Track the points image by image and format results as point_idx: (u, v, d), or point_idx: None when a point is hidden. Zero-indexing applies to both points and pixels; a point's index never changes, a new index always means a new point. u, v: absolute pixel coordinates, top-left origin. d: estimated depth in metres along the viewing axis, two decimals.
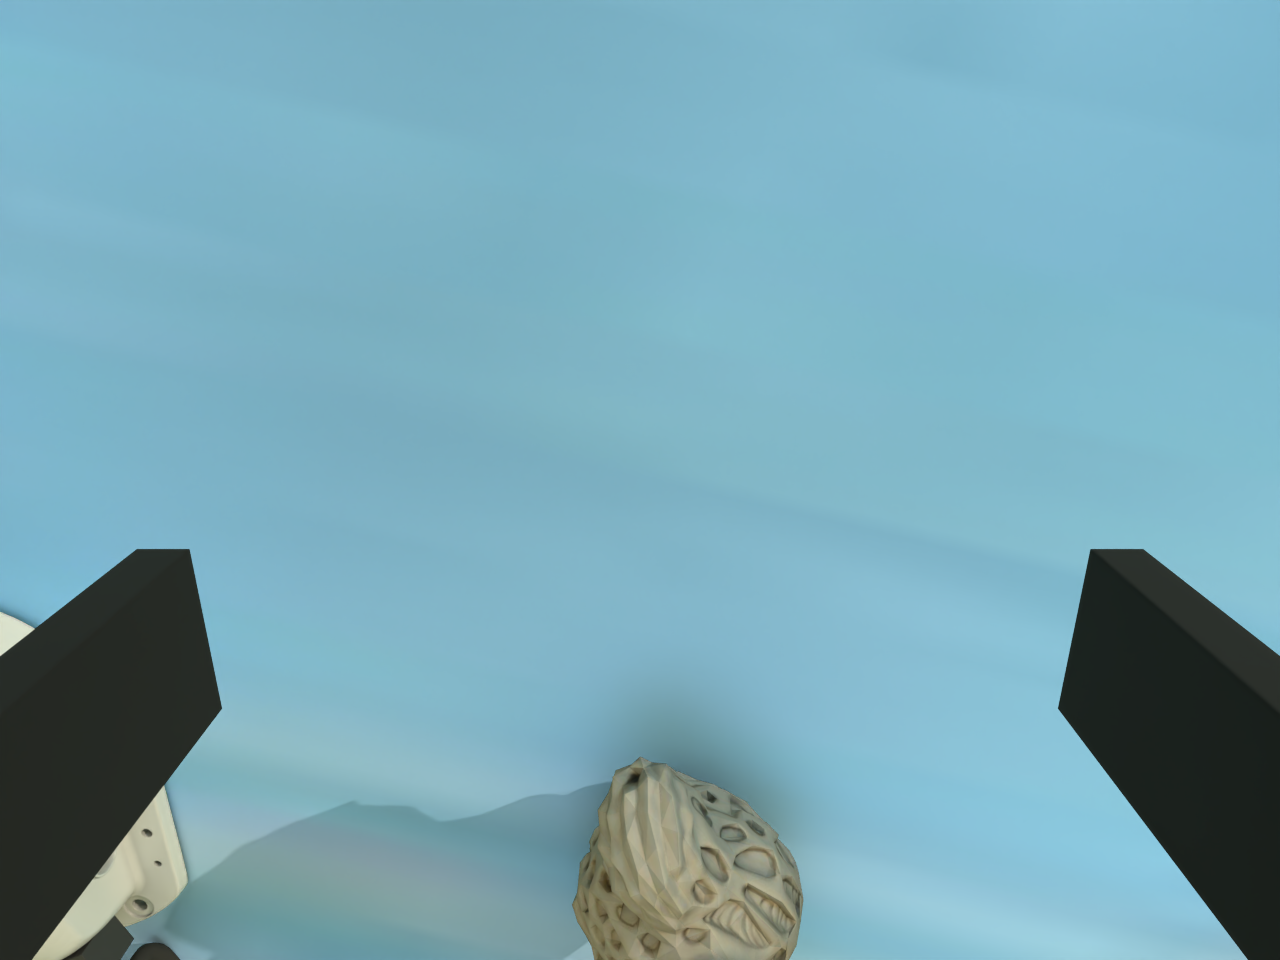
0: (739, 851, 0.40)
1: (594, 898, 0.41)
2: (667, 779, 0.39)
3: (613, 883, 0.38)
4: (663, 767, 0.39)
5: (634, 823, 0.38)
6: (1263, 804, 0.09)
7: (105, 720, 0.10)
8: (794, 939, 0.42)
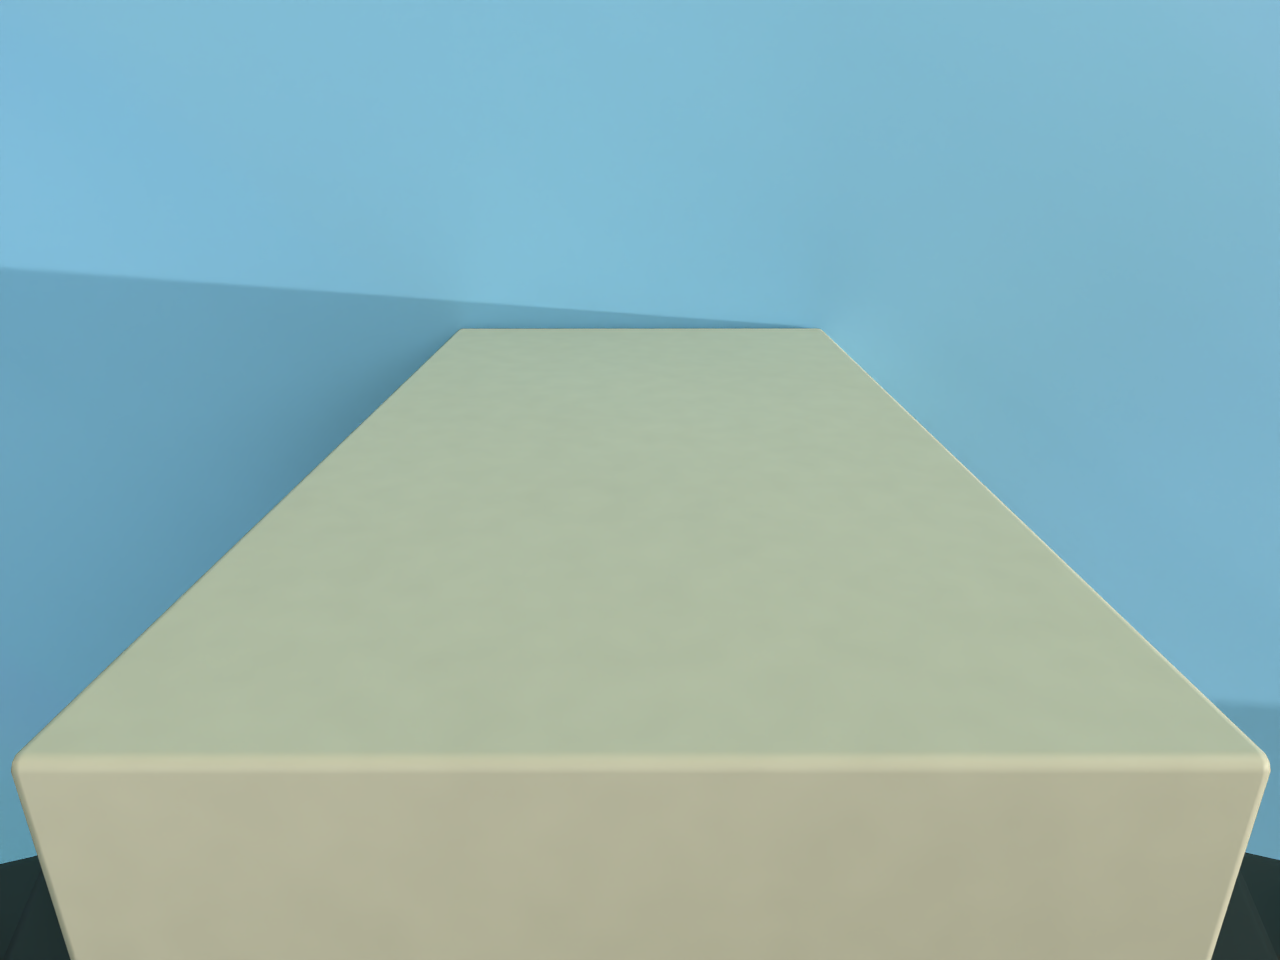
0: None
1: None
2: None
3: None
4: None
5: None
6: None
7: None
8: None
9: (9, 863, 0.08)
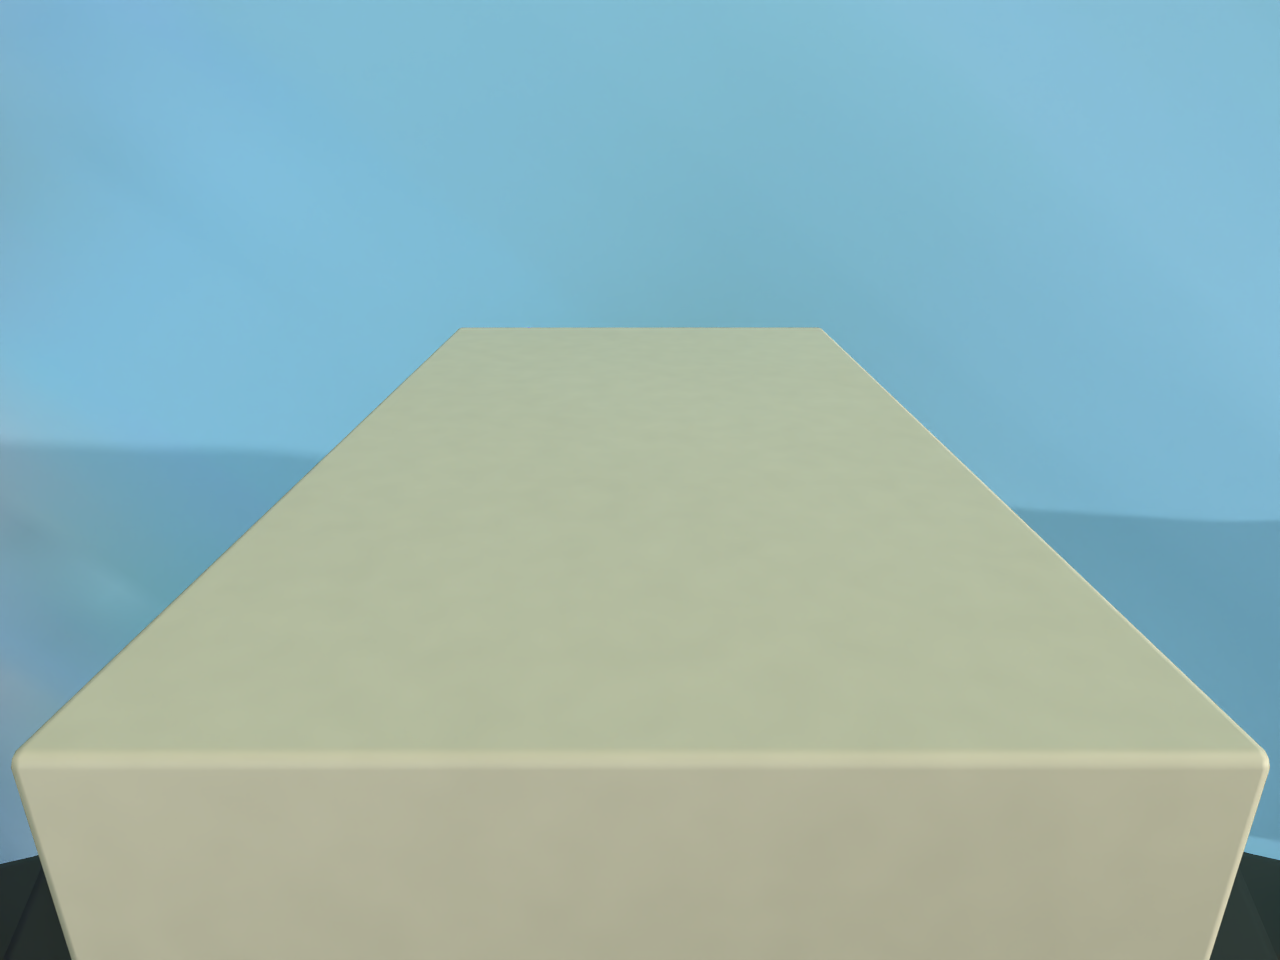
0: None
1: None
2: None
3: None
4: None
5: None
6: None
7: None
8: None
9: (10, 863, 0.08)
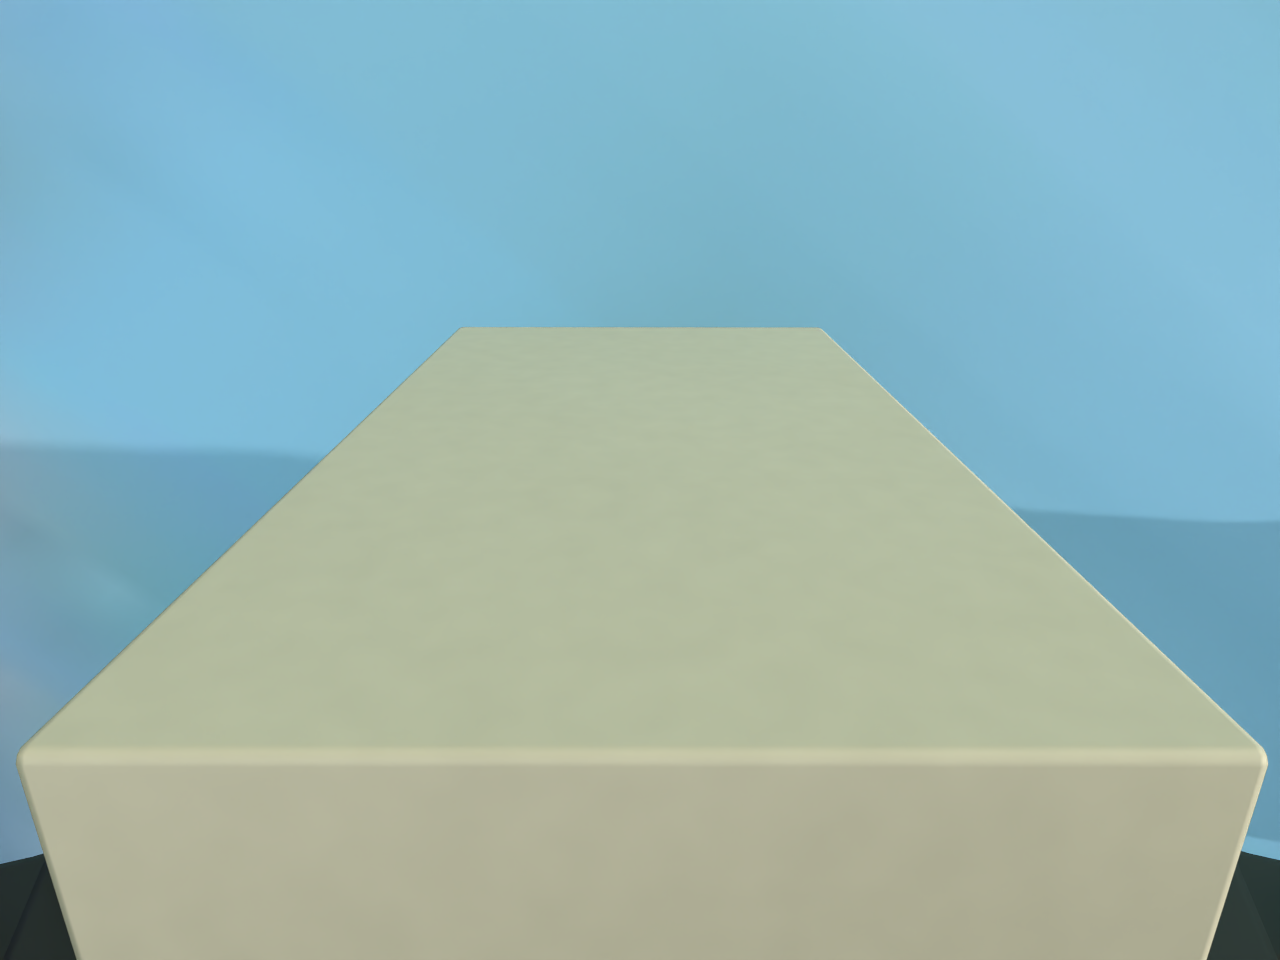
0: None
1: None
2: None
3: None
4: None
5: None
6: None
7: None
8: None
9: (9, 863, 0.08)
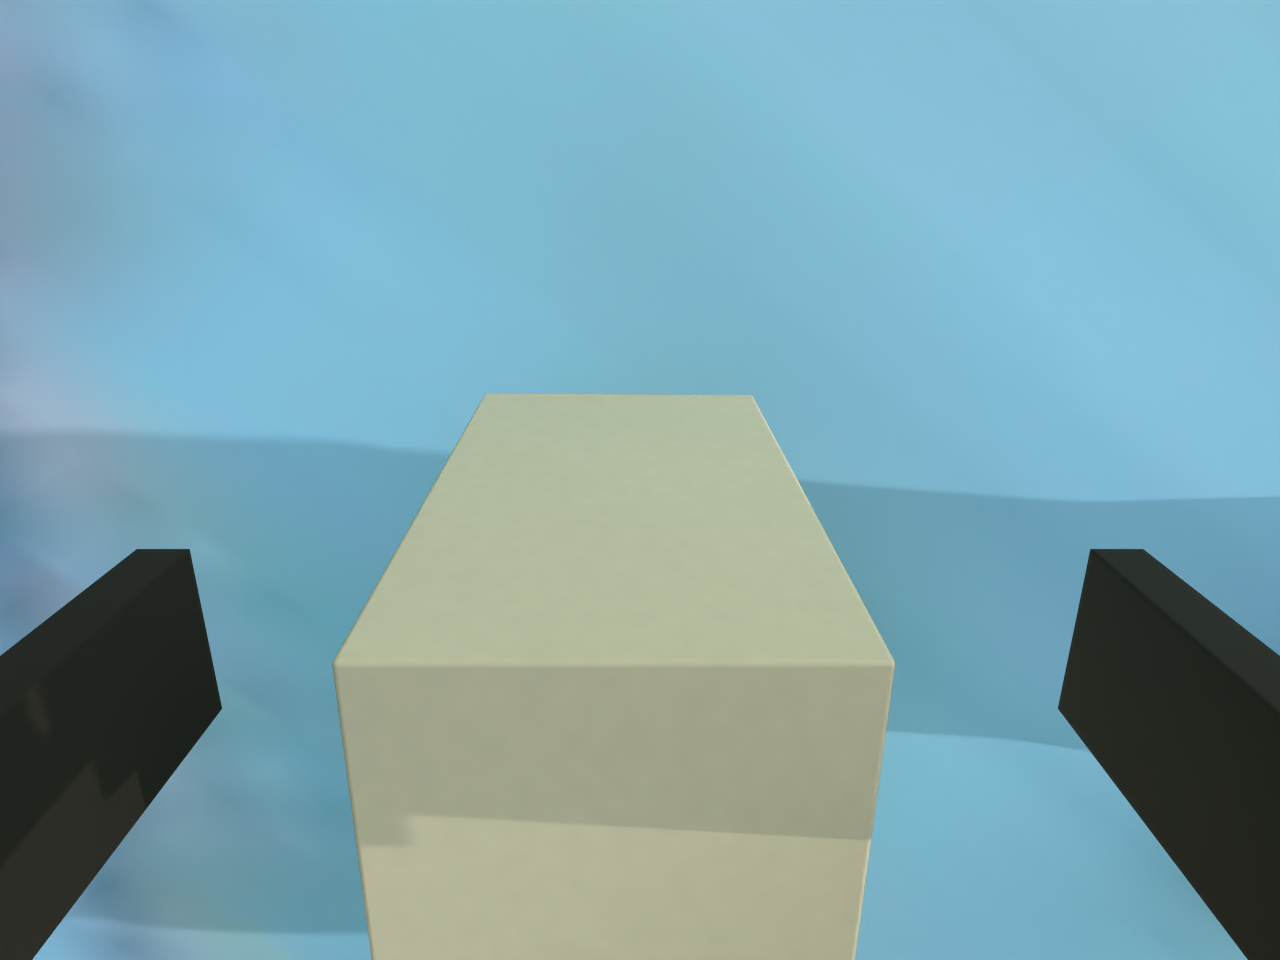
0: None
1: None
2: None
3: None
4: None
5: None
6: (1263, 804, 0.09)
7: (105, 720, 0.10)
8: None
9: None
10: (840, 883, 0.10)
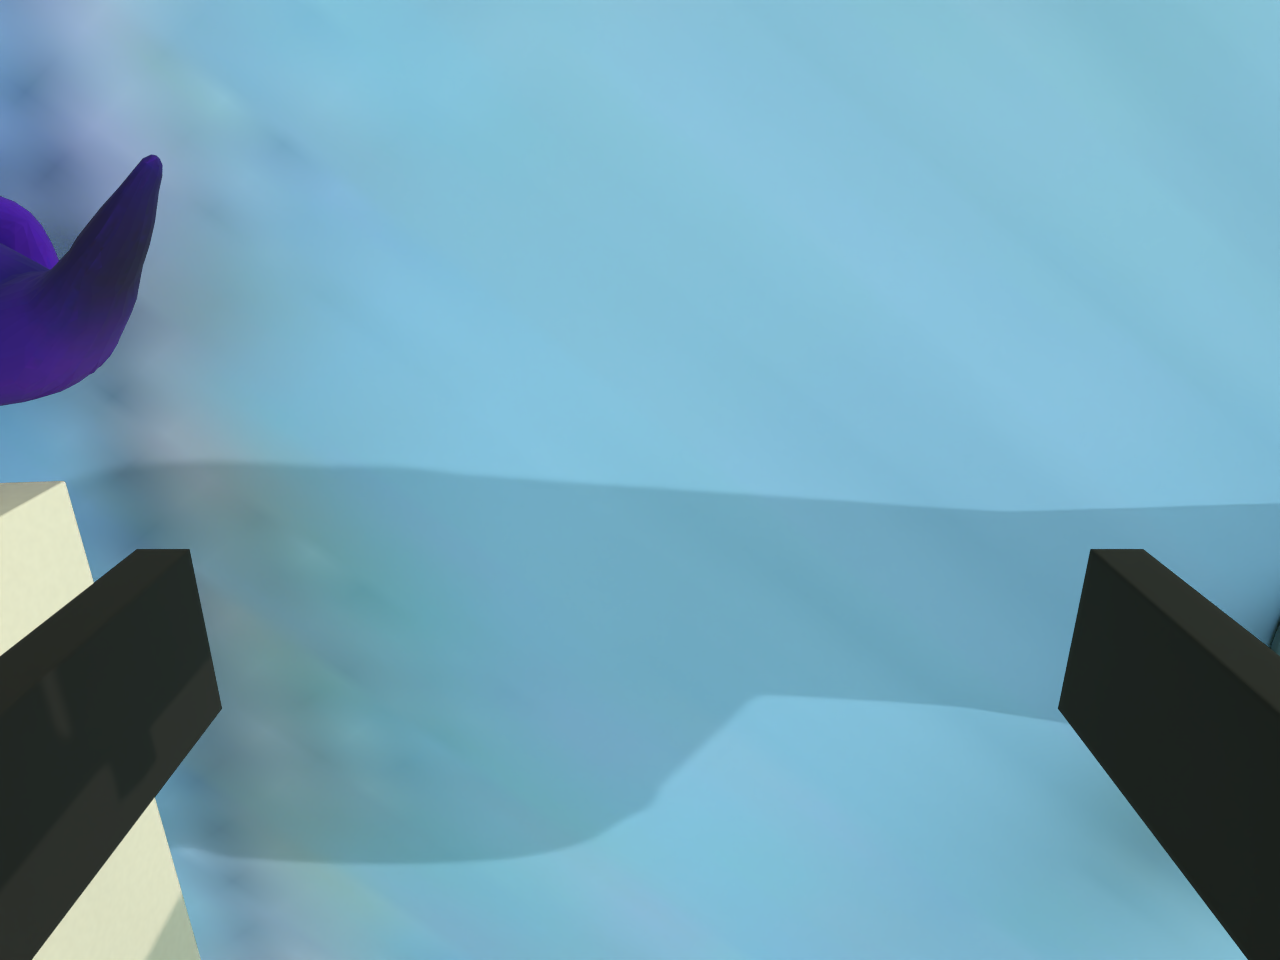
0: None
1: None
2: None
3: None
4: None
5: None
6: (1263, 804, 0.09)
7: (105, 720, 0.10)
8: None
9: None
10: None
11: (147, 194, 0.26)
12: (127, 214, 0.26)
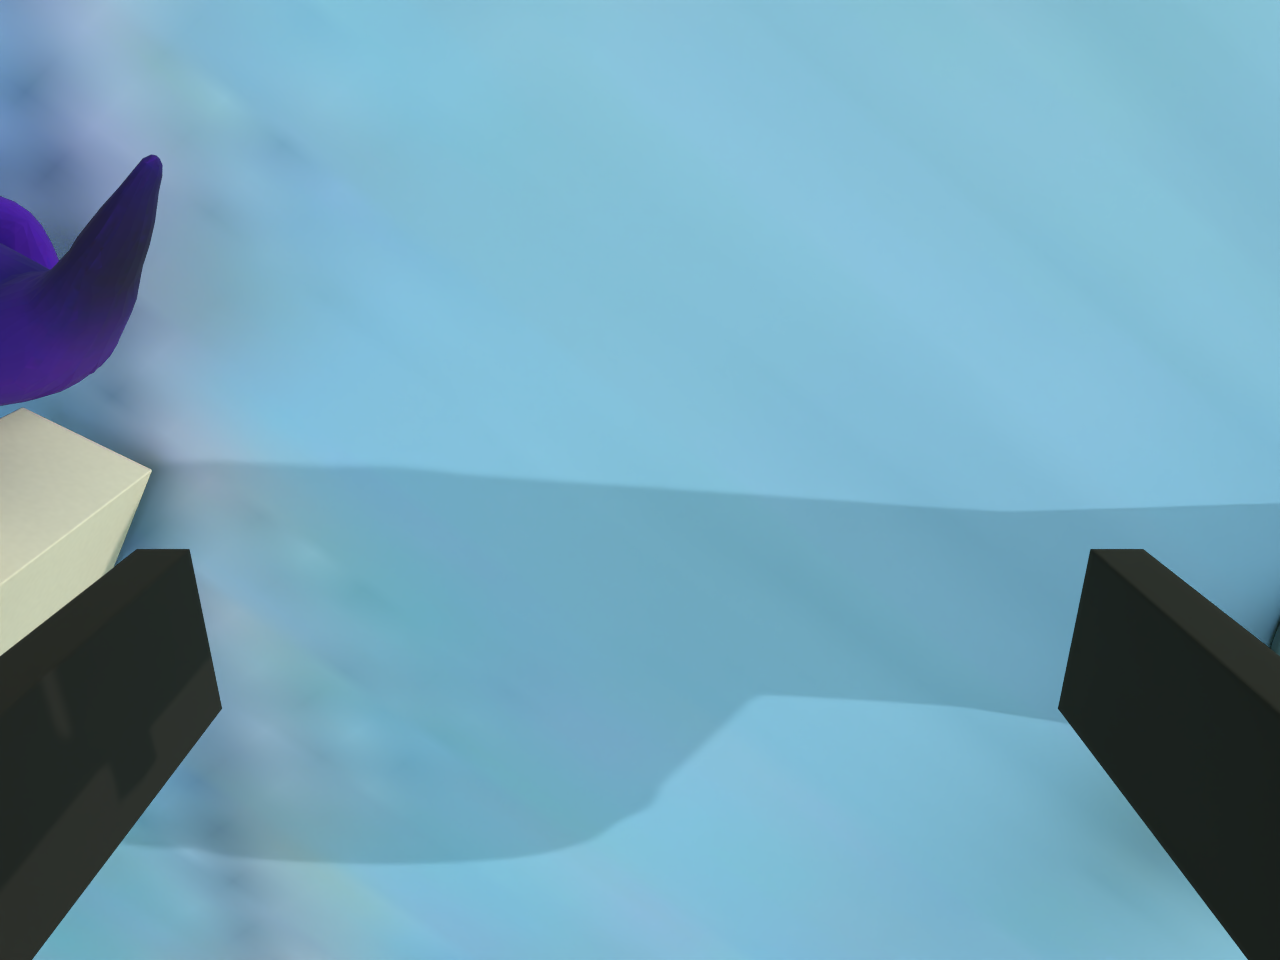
0: None
1: None
2: None
3: None
4: None
5: None
6: (1263, 804, 0.09)
7: (105, 720, 0.10)
8: None
9: None
10: None
11: (147, 194, 0.26)
12: (127, 214, 0.26)
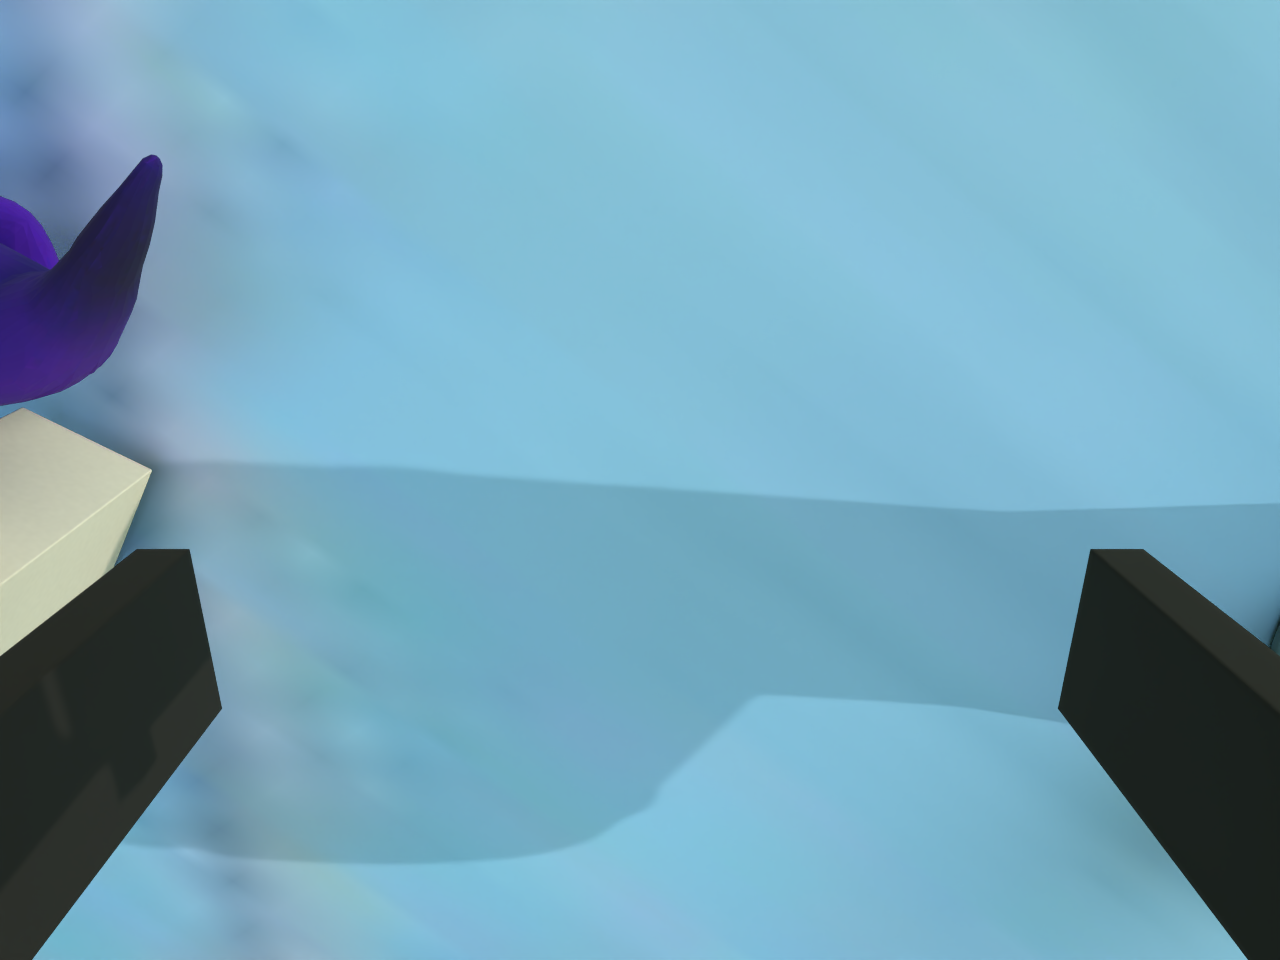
0: None
1: None
2: None
3: None
4: None
5: None
6: (1263, 804, 0.09)
7: (105, 720, 0.10)
8: None
9: None
10: None
11: (147, 194, 0.26)
12: (127, 214, 0.26)
